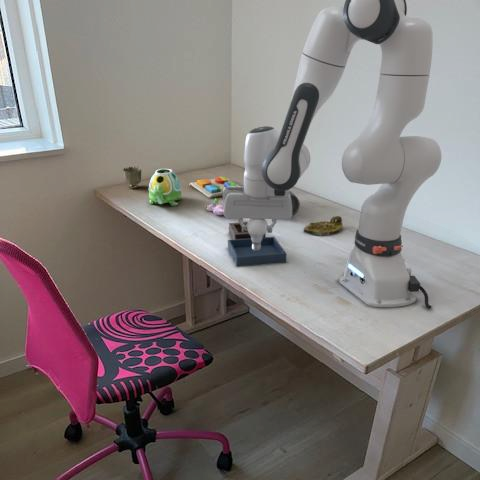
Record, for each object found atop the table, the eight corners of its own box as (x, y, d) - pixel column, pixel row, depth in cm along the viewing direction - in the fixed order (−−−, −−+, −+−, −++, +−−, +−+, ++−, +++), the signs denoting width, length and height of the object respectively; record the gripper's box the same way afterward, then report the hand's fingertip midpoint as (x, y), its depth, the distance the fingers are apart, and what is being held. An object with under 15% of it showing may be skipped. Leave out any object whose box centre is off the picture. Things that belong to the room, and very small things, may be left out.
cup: (124, 185, 212) (121, 166, 208) (141, 184, 214) (139, 165, 210) (126, 191, 206) (124, 171, 202) (144, 189, 208) (142, 170, 204)
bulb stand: (265, 244, 164) (265, 232, 161) (234, 246, 162) (235, 234, 159) (257, 232, 172) (257, 221, 170) (228, 234, 170) (228, 223, 168)
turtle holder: (141, 210, 188) (139, 178, 181) (155, 195, 203) (152, 165, 196) (174, 212, 186) (172, 180, 180) (185, 197, 202) (184, 167, 195)
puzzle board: (211, 199, 200) (211, 190, 198) (188, 186, 213) (187, 178, 211) (247, 192, 208) (247, 184, 206) (223, 180, 221) (223, 172, 219)
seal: (311, 241, 169) (348, 233, 174) (313, 228, 166) (351, 221, 171) (297, 228, 175) (333, 221, 181) (299, 216, 173) (336, 209, 178)
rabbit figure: (201, 213, 190) (221, 219, 178) (200, 197, 187) (220, 202, 176) (216, 210, 193) (236, 216, 181) (214, 195, 190) (235, 200, 178)
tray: (285, 262, 152) (286, 253, 150) (236, 266, 149) (236, 257, 147) (273, 245, 163) (274, 236, 161) (227, 248, 160) (227, 239, 158)
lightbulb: (270, 249, 156) (272, 215, 150) (259, 256, 152) (261, 222, 146) (252, 244, 159) (253, 211, 153) (242, 251, 154) (242, 217, 148)
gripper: (221, 188, 142) (222, 234, 149) (294, 190, 142) (291, 236, 149) (223, 182, 147) (223, 226, 155) (293, 184, 147) (289, 228, 154)
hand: (257, 231), depth 152 cm, fingers closed on lightbulb, 6 cm apart
